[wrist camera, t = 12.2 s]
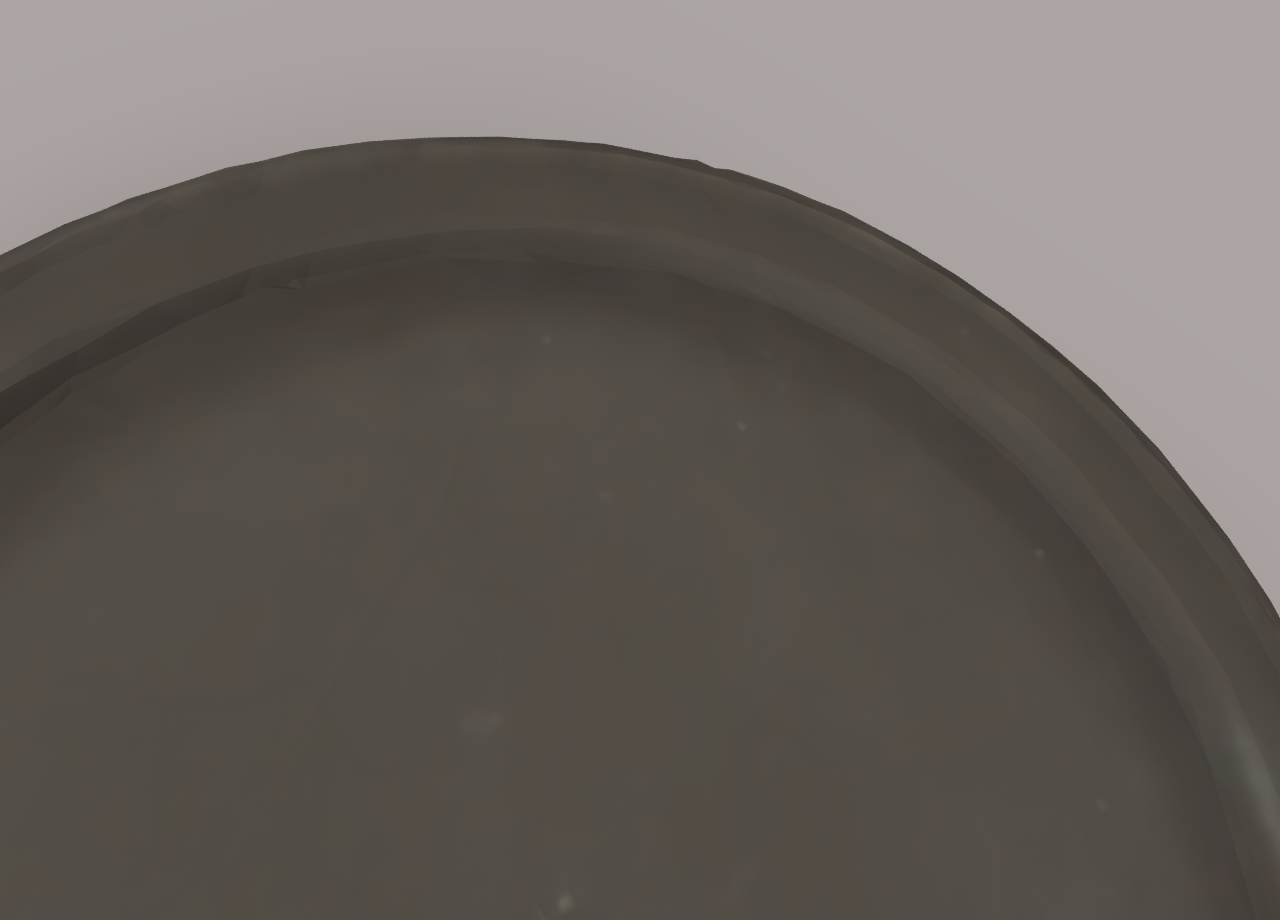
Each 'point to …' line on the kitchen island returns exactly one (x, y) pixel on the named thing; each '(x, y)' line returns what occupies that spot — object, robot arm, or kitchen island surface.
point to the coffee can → (592, 568)
